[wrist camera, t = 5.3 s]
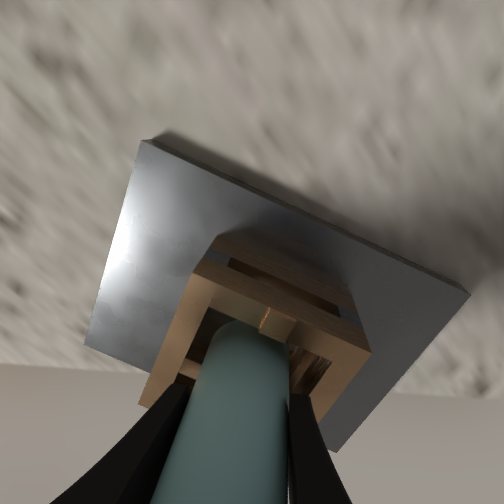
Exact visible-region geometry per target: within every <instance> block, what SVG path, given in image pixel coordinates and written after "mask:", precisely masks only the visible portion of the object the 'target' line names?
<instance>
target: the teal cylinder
mask: <svg viewBox="0 0 504 504" xmlns="http://www.w3.org/2000/svg"><path fill="white" fill-rule="evenodd" d="M258 331H259V329H258V328H256V327H253V326H251V325H249V324H247V323H244V322H242V321H240V320H235V321H232V322H229V323H227V324H225V325H223V326H222V327H221V328H219V329H218V330H217V331H216V333H215V334H214V336H213V338H212V340H211V343H210V345H209V348H208V351H207V353H206V356H205V358H204V361H203V364H202V366H201V369H200V372H199V374H198V377H197V380H196V382H195V385H194V388H193V390H192V393H191V396H190V398H189V401H188V404H187V406H186V409H185V412H184V414H183V417H182V419H181V422H180V425H179V427H178V430H177V433H176V435H175V438H174V441H173V443H172V446H171V449H170V451H169V454H168V457H167V459H166V462H165V465H164V467H163V470H162V472H161V475H160V478H159V480H158V483H157V486H156V488H155V491H154V494H153V496H152V499H151V502H150V504H288V435H289V356H290V355H289V348H288V345H287V343H286V341H285V342H284V343H281V342H279V341H277V340H275V339H272V338H270V337H268V336H266V335H263V334H261V333H259V332H258Z"/></svg>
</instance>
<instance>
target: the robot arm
mask: <svg viewBox="0 0 504 504" xmlns="http://www.w3.org/2000/svg"><path fill="white" fill-rule="evenodd" d="M188 401H189V391H188V385H180V384H171V385H169V386H168V388H167V389H166V390H165V391H164V392H163V393H162V395H161V396H160V397H159V398H158V399H157V400H156V402H155V403H154V404H153V405H152V406H151V407H150V408H149V410H148V411H147V412H146V413H145V414H144V415H143V416H142V417H141V418H140V420H139V421H138V422H137V423H136V424H135V425H134V426H133V427H132V428H131V429H130V430H129V431H128V432H127V434H126V435H125V436H124V437H123V438H122V439H121V440H120V441H119V442H118V443H117V444H116V445H115V446H114V447H113V448H112V449H111V450H110V451H109V452H108V453H107V454H106V455H105V456H104V457H103V458H102V459H101V460H100V461H98V463H96V464H95V465H94V466H93V467H92V468H91V469H90V470H89V471H88V472H87V473H85V474H84V475H83V476H82V477H81V478H80V479H79V480H77V482H75V483H74V484H73V485H72V486H71V487H69V488H68V489H67V490H66V491H65V492H64V493H62V494H61V495H60V496H59V497H57V498H56V499H55V500H54V501H52V502H51V503H50V504H150V502H151V499H152V496H153V494H154V491H155V488H156V486H157V483H158V480H159V478H160V475H161V472H162V470H163V467H164V465H165V462H166V459H167V457H168V454H169V451H170V449H171V446H172V443H173V441H174V438H175V435H176V433H177V430H178V427H179V425H180V422H181V419H182V417H183V414H184V412H185V409H186V406H187V404H188ZM288 487H289V503H290V504H352V502H351V500H350V499H349V496H348V494H347V492H346V490H345V488H344V486H343V484H342V482H341V480H340V478H339V475H338V473H337V471H336V469H335V467H334V464H333V462H332V460H331V457H330V455H329V453H328V450H327V448H326V445H325V443H324V440H323V438H322V435H321V432H320V429H319V426H318V424H317V421H316V417H315V414H314V411H313V407H312V402H311V397H310V396H309V395H307V394H294V393H290V395H289V435H288Z"/></svg>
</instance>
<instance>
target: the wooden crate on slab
mask: <svg viewBox="0 0 504 504" xmlns="http://www.w3.org/2000/svg"><path fill="white" fill-rule="evenodd" d="M470 296H471V294H470V293H468V292H467V291H466V290H465V289H464V288H463V287H462V286H461V285H460V284H458V283H456V282H453V281H451V280H449V279H447V278H445V277H443V276H441V275H439V274H436V273H434V272H432V271H430V270H428V269H426V268H424V267H422V266H419V265H417V264H415V263H413V262H411V261H409V260H407V259H405V258H402V257H400V256H398V255H396V254H394V253H392V252H390V251H388V250H385V249H383V248H381V247H379V246H377V245H375V244H373V243H371V242H368V241H366V240H364V239H362V238H360V237H358V236H356V235H353V234H351V233H349V232H347V231H345V230H343V229H341V228H339V227H336V226H334V225H332V224H330V223H328V222H326V221H324V220H322V219H319V218H317V217H315V216H313V215H311V214H309V213H307V212H305V211H302V210H300V209H298V208H296V207H294V206H292V205H290V204H288V203H285V202H283V201H281V200H279V199H277V198H275V197H273V196H270V195H268V194H266V193H264V192H262V191H260V190H258V189H256V188H253V187H251V186H249V185H247V184H245V183H243V182H241V181H239V180H236V179H234V178H232V177H230V176H228V175H226V174H224V173H222V172H219V171H217V170H215V169H213V168H211V167H209V166H207V165H205V164H202V163H200V162H198V161H196V160H194V159H192V158H190V157H188V156H185V155H183V154H181V153H179V152H177V151H175V150H173V149H170V148H168V147H166V146H164V145H162V144H160V143H158V142H156V141H153V140H151V139H148V140H141V143H140V146H139V150H138V153H137V157H136V160H135V164H134V168H133V171H132V175H131V178H130V182H129V185H128V189H127V193H126V196H125V200H124V203H123V207H122V210H121V214H120V218H119V221H118V225H117V228H116V232H115V235H114V239H113V242H112V246H111V250H110V253H109V257H108V260H107V264H106V267H105V271H104V275H103V278H102V282H101V285H100V289H99V292H98V296H97V300H96V303H95V307H94V310H93V314H92V317H91V321H90V325H89V328H88V332H87V335H86V339H85V342H84V345H86V346H88V347H90V348H93V349H95V350H97V351H100V352H102V353H104V354H107V355H109V356H111V357H114V358H116V359H118V360H121V361H123V362H125V363H128V364H130V365H132V366H135V367H137V368H139V369H142V370H144V371H146V372H149V373H150V376H149V378H148V381H147V383H146V386H145V388H144V390H143V393H142V395H141V398H140V400H139V403H138V404H139V405H141V406H144V407H146V408H150V407H151V406H152V405H153V404H154V403H155V402H156V400H157V399H158V398H159V397H160V396H161V395H162V393H163V392H164V391H165V390H166V389H167V388H168V386H169V385H171V384H180V385H188V391H189V398H190V396H191V393H192V390H193V388H194V385H195V382H196V380H197V377H198V374H199V372H200V369H201V366H202V364H203V361H204V358H205V356H206V353H207V351H208V348H209V345H210V343H211V340H212V338H213V336H214V334H215V333H216V331H217V330H218V329H219V328H221V327H222V326H223V325H225V324H227V323H229V322H232V321H235V320H240V321H242V322H244V323H247V324H249V325H251V326H253V327H256V328H258V329H259V331H258V332H259V333H261V334H263V335H266V336H268V337H270V338H272V339H275V340H277V341H279V342H281V343H284V342H285V341H286V343H287V345H288V348H289V355H290V356H289V395H290V393H294V394H307V395H309V396H310V397H311V402H312V407H313V411H314V414H315V417H316V421H317V424H318V426H319V429H320V432H321V435H322V438H323V440H324V443H325V445H326V448H327V449H328V450H331V451H333V452H336V453H337V452H338V451H339V449H340V448H341V447H342V446H343V445H344V444H345V442H346V441H347V440H348V439H349V438H350V436H351V435H352V434H353V433H354V432H355V431H356V429H357V428H358V427H359V426H360V425H361V424H362V422H363V421H364V420H365V419H366V418H367V417H368V415H369V414H370V413H371V412H372V411H373V410H374V408H375V407H376V406H377V405H378V404H379V402H380V401H381V400H382V399H383V398H384V397H385V396H386V394H387V393H388V392H389V391H390V390H391V388H392V387H393V386H394V385H395V384H396V383H397V381H398V380H399V379H400V378H401V377H402V376H403V374H404V373H405V372H406V371H407V370H408V369H409V367H410V366H411V365H412V364H413V363H414V362H415V360H416V359H417V358H418V357H419V356H420V354H421V353H422V352H423V351H424V350H425V349H426V347H427V346H428V345H429V344H430V343H431V342H432V340H433V339H434V338H435V337H436V336H437V335H438V333H439V332H440V331H441V330H442V329H443V328H444V326H445V325H446V324H447V323H448V322H449V320H450V319H451V318H452V317H453V316H454V315H455V313H456V312H457V311H458V310H459V309H460V308H461V306H462V305H463V304H464V303H465V302H466V301H467V299H468V298H469V297H470Z"/></svg>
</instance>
